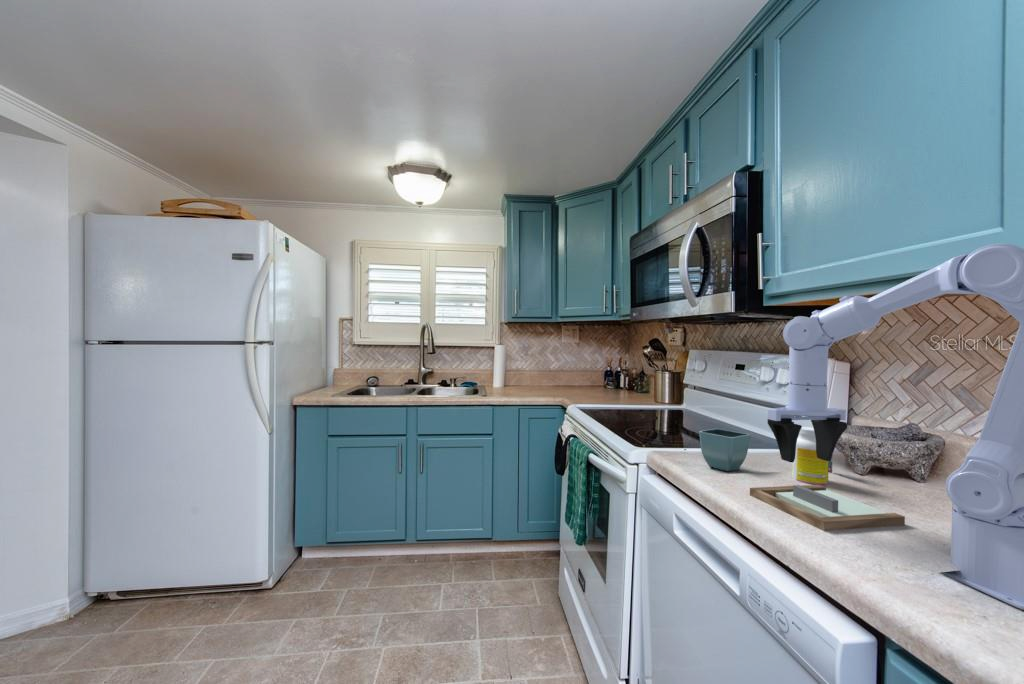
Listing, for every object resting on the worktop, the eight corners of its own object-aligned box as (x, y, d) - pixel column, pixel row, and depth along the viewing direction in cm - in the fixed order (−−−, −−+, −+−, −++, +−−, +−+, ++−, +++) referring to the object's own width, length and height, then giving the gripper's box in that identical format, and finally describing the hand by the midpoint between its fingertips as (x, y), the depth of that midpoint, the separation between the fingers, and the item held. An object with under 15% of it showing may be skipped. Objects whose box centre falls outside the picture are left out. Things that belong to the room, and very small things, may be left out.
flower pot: (716, 461, 114) (717, 427, 114) (750, 470, 106) (751, 434, 106) (697, 466, 109) (698, 430, 109) (731, 475, 101) (732, 437, 101)
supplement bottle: (834, 493, 91) (836, 432, 91) (800, 490, 92) (802, 430, 92) (817, 483, 97) (818, 426, 97) (785, 480, 98) (787, 425, 99)
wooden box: (904, 534, 71) (904, 516, 71) (823, 540, 68) (823, 521, 68) (818, 499, 87) (818, 484, 87) (749, 502, 84) (749, 487, 84)
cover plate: (891, 520, 73) (892, 502, 73) (833, 523, 71) (833, 505, 71) (827, 495, 85) (828, 480, 85) (775, 497, 83) (775, 482, 83)
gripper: (821, 382, 82) (820, 453, 82) (755, 382, 80) (753, 455, 79) (857, 386, 75) (855, 463, 75) (786, 386, 73) (784, 466, 73)
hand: (805, 460), depth 77 cm, fingers open, 7 cm apart
